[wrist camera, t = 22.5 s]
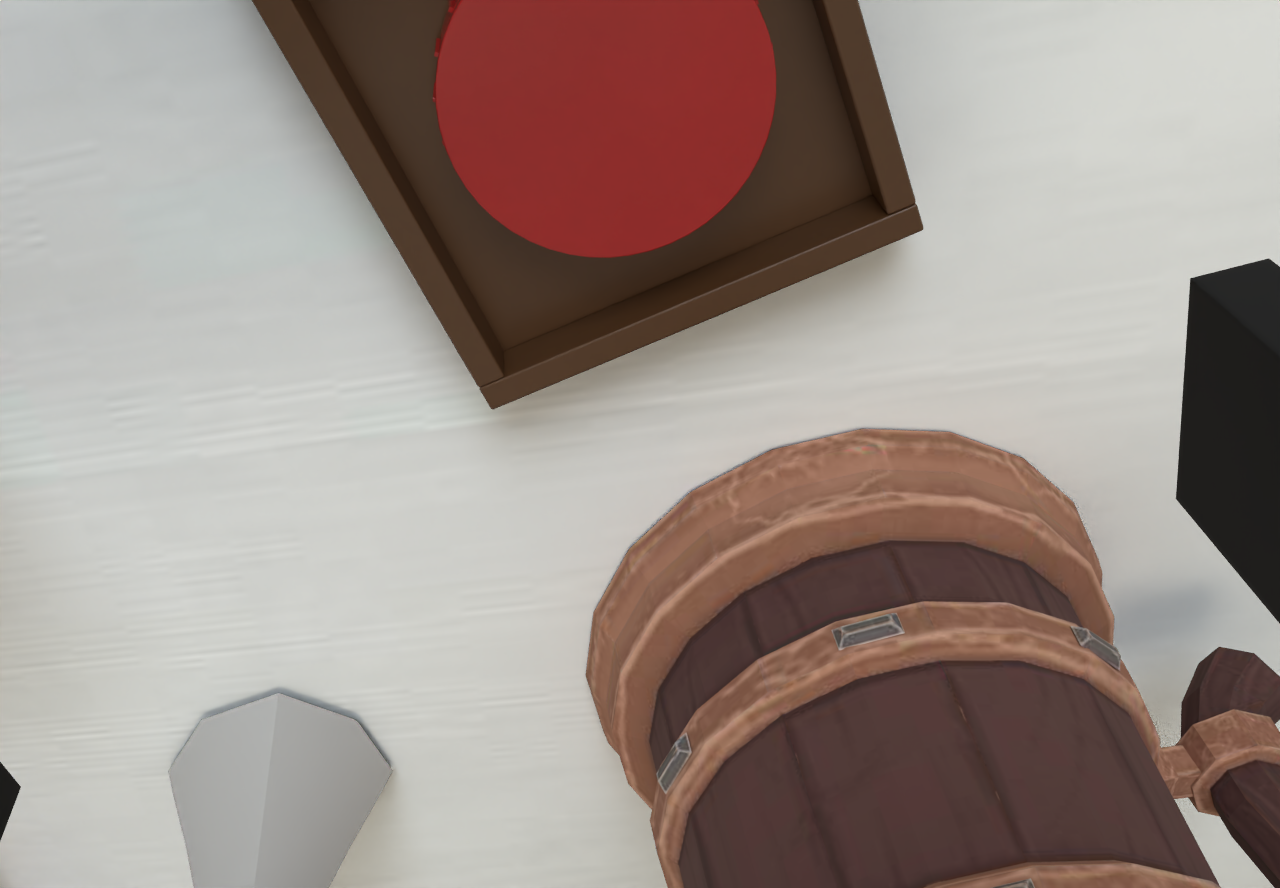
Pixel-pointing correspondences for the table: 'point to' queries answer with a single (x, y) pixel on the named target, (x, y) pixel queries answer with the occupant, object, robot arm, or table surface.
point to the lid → (604, 114)
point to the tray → (590, 286)
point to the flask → (274, 794)
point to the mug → (909, 686)
